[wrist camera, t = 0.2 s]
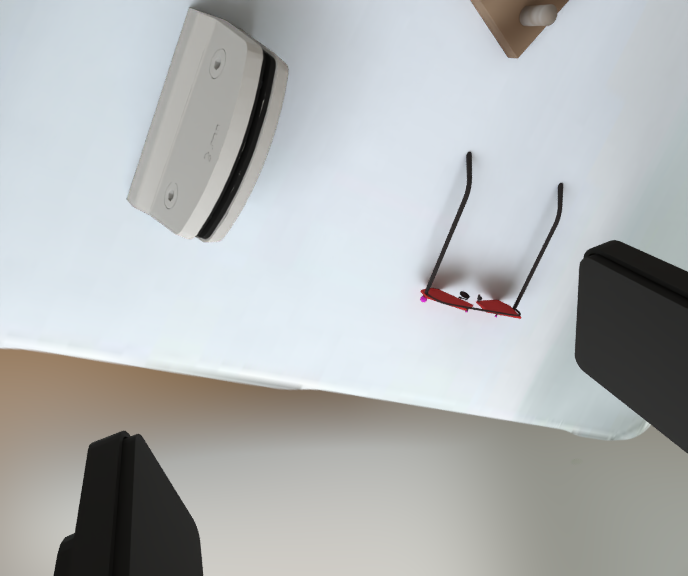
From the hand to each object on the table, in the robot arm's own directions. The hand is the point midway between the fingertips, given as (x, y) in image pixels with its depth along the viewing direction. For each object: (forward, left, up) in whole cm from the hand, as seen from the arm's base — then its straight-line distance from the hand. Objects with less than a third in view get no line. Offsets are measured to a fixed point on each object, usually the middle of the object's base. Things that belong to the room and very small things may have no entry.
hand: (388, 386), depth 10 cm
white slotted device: (0, -1, -37) cm, 37 cm away
